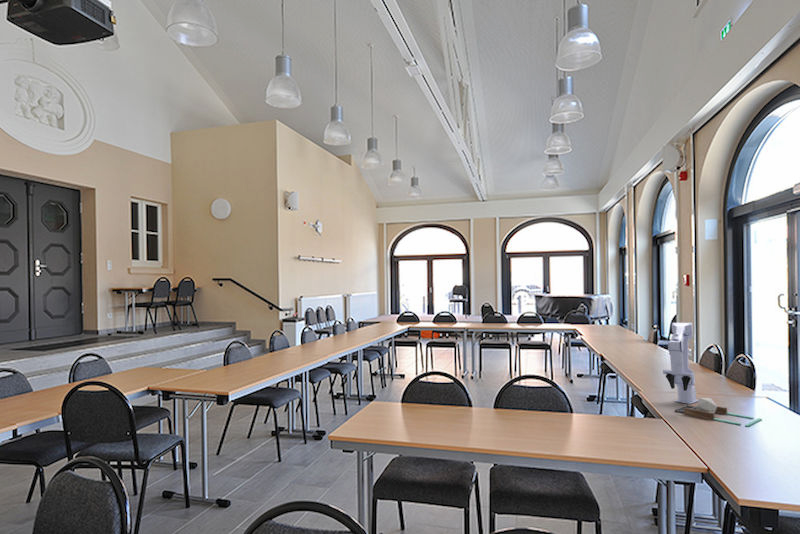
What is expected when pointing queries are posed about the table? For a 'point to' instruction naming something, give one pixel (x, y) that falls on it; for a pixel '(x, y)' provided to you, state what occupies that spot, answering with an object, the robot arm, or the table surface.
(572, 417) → the table surface
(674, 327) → the robot arm
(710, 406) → the die
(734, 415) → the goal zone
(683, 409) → the grey flat rectangular tray
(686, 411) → the channel
